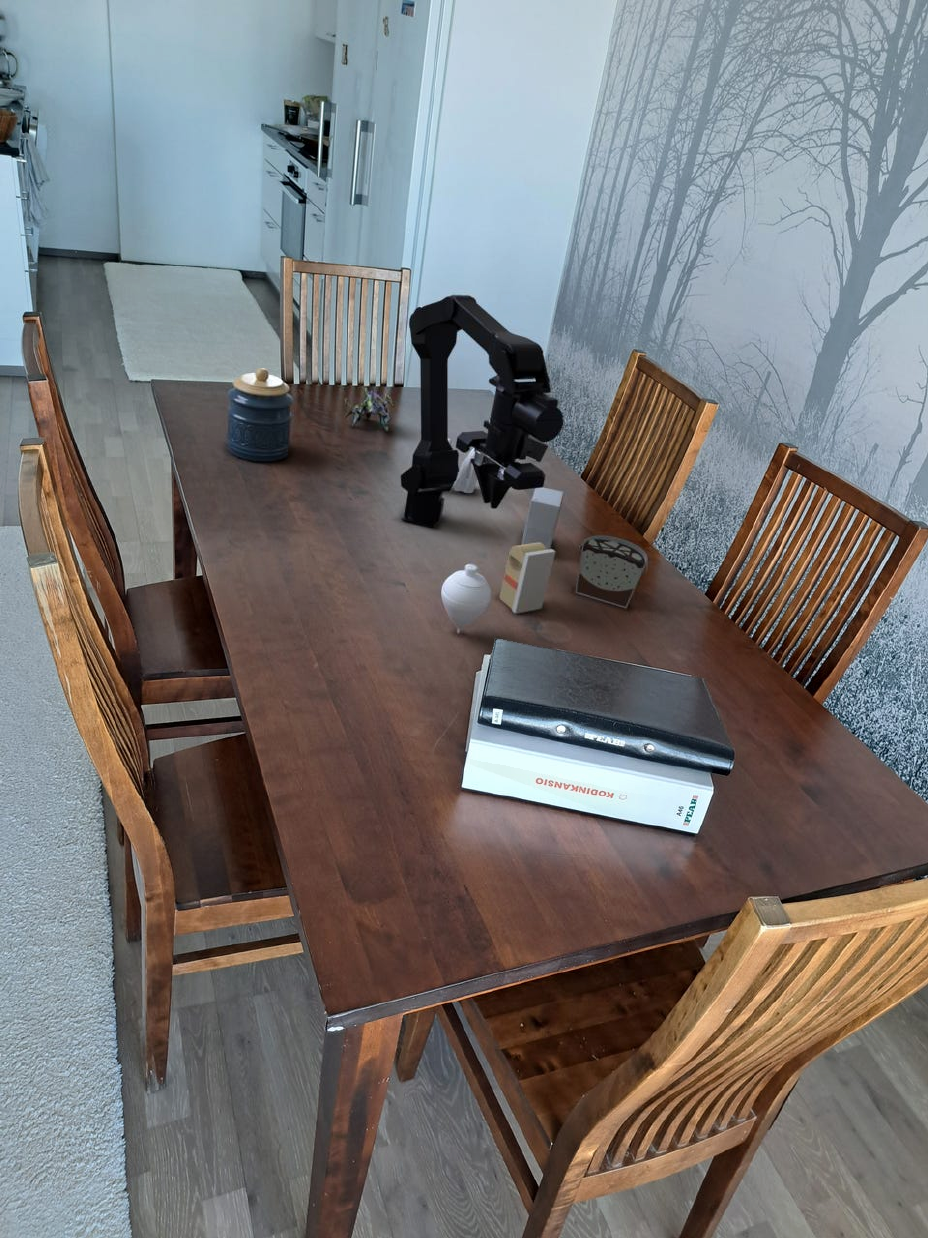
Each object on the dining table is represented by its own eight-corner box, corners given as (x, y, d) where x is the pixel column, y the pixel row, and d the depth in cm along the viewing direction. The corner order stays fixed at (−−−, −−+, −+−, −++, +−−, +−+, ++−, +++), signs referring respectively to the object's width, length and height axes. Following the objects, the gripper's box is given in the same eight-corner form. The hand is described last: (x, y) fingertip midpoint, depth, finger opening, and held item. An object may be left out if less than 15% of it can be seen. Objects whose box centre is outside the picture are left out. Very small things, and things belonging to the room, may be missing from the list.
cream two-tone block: (496, 597, 154) (509, 540, 148) (522, 592, 157) (535, 536, 151) (515, 614, 150) (528, 555, 144) (541, 608, 153) (555, 551, 147)
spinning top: (447, 649, 137) (460, 581, 131) (426, 622, 143) (437, 556, 137) (490, 643, 141) (505, 576, 135) (468, 617, 146) (481, 552, 140)
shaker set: (422, 492, 187) (430, 441, 181) (418, 483, 190) (426, 433, 184) (478, 495, 190) (487, 445, 185) (473, 487, 194) (482, 438, 188)
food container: (640, 596, 163) (655, 547, 158) (634, 611, 158) (650, 561, 153) (574, 576, 165) (587, 527, 160) (567, 590, 160) (580, 540, 155)
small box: (548, 557, 170) (560, 507, 165) (519, 550, 171) (530, 500, 165) (552, 540, 177) (564, 491, 172) (525, 534, 178) (536, 484, 172)
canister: (301, 454, 193) (308, 372, 184) (259, 468, 183) (263, 382, 174) (256, 434, 198) (260, 354, 189) (212, 447, 188) (215, 363, 179)
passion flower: (381, 451, 217) (400, 424, 207) (337, 441, 212) (355, 412, 202) (380, 413, 221) (399, 384, 212) (338, 402, 217) (355, 372, 207)
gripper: (580, 437, 147) (558, 524, 155) (514, 398, 159) (497, 479, 167) (525, 441, 141) (506, 531, 149) (461, 400, 153) (447, 484, 161)
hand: (490, 505), depth 156 cm, fingers closed
